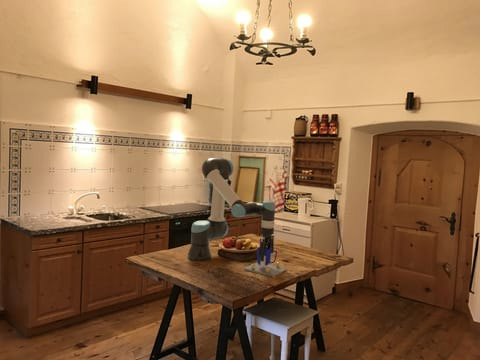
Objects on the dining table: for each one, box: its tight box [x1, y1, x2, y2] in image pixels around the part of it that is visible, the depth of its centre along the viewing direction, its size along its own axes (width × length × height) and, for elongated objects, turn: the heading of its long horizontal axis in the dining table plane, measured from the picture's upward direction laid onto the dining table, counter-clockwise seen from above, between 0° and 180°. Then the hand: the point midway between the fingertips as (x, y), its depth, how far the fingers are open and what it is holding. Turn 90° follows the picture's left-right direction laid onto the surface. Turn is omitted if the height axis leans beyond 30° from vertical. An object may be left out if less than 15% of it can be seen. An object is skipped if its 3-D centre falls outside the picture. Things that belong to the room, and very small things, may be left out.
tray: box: [243, 261, 287, 278], centre depth 241 cm, size 20×16×4 cm
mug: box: [256, 246, 278, 266], centre depth 241 cm, size 8×12×10 cm
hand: (265, 264), depth 241 cm, fingers closed on mug, 7 cm apart
